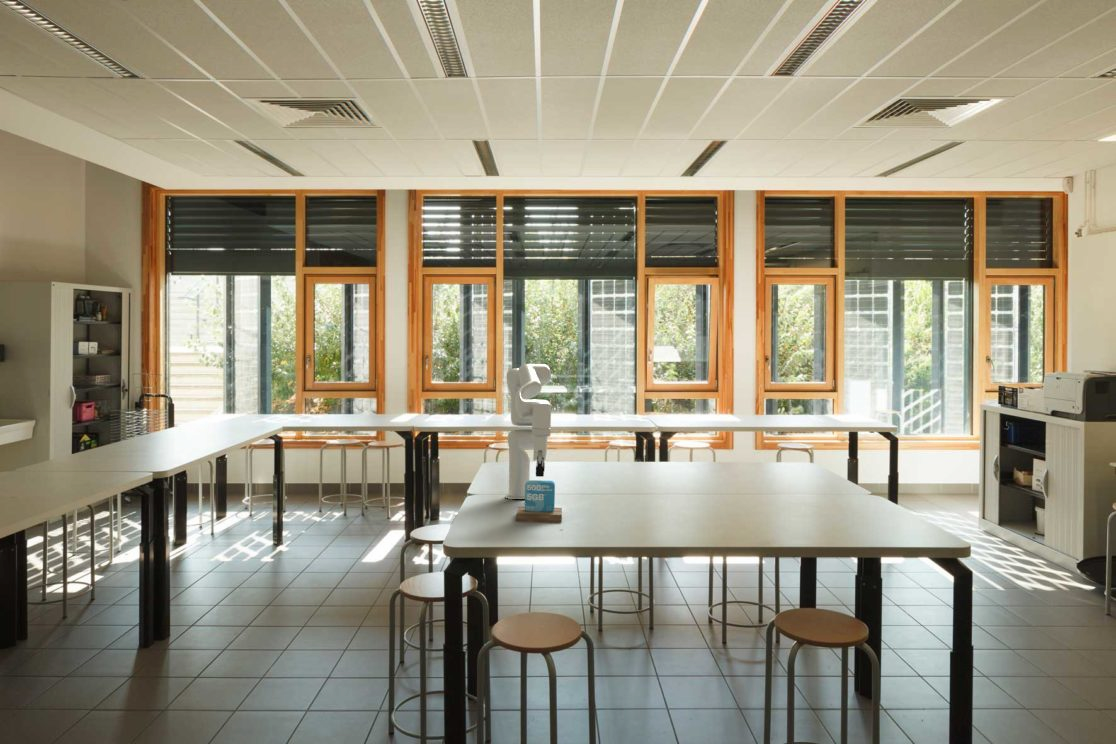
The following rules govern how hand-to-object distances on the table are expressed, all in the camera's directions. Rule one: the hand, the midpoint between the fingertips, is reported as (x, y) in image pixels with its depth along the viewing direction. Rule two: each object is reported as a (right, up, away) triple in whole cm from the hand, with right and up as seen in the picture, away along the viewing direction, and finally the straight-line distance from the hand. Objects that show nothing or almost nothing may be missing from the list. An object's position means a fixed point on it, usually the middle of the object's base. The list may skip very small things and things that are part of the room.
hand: (540, 474), depth 309 cm
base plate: (0, -18, 0) cm, 18 cm away
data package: (0, -15, 0) cm, 15 cm away
